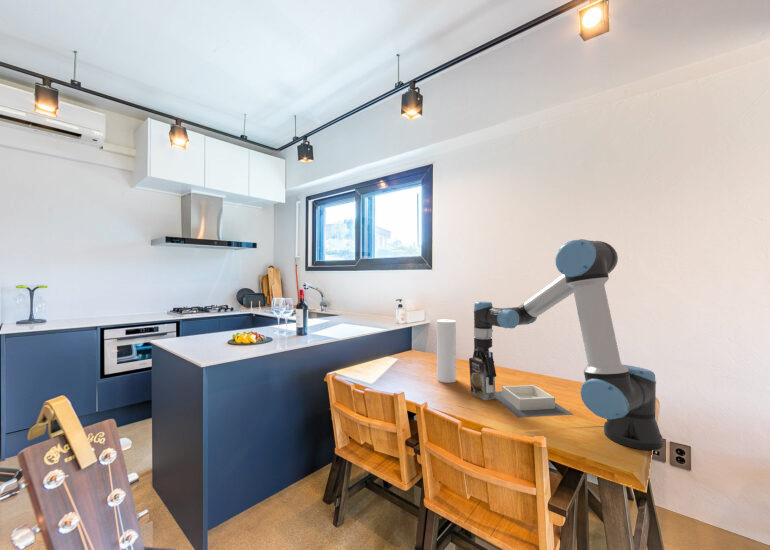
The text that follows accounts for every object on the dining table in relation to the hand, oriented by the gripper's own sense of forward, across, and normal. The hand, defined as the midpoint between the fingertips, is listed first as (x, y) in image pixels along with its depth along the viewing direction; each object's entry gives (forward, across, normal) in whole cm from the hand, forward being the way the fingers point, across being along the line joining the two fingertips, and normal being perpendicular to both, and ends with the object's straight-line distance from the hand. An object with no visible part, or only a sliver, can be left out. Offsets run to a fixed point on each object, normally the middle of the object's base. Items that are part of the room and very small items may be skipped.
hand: (483, 386), depth 142 cm
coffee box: (+4, 0, 0) cm, 4 cm away
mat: (+4, -9, -15) cm, 18 cm away
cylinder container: (+4, +24, +9) cm, 26 cm away
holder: (+4, -9, -15) cm, 18 cm away
